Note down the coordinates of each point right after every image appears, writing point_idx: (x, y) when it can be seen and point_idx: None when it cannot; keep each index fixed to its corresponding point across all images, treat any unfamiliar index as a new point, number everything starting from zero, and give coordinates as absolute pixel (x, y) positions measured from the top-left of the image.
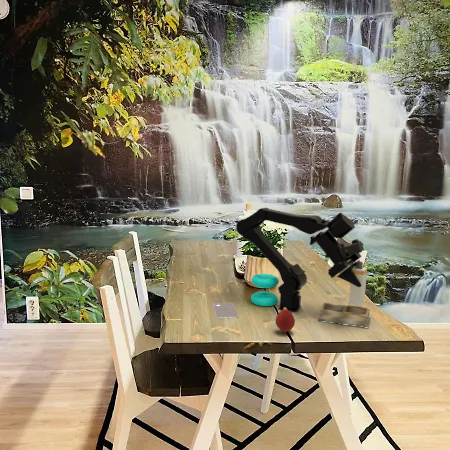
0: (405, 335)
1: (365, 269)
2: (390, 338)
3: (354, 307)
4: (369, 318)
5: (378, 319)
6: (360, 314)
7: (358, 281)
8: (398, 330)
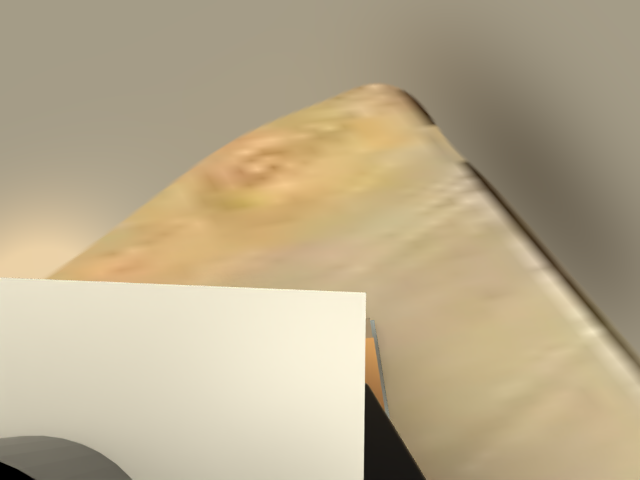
0: (349, 128)
1: (85, 285)
2: (441, 184)
3: None
4: None
5: None
6: (369, 377)
7: (405, 446)
8: (294, 167)
